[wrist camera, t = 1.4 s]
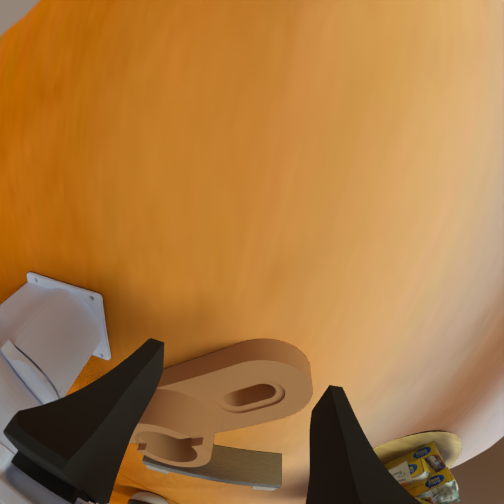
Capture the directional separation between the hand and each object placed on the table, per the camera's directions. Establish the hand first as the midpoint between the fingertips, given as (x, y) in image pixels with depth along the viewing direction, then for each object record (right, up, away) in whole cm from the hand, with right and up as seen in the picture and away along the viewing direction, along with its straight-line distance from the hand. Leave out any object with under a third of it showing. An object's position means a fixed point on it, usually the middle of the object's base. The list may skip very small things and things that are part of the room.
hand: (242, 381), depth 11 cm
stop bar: (-4, -21, +20) cm, 30 cm away
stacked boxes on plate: (+24, -31, +23) cm, 45 cm away
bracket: (-3, -7, +15) cm, 17 cm away
